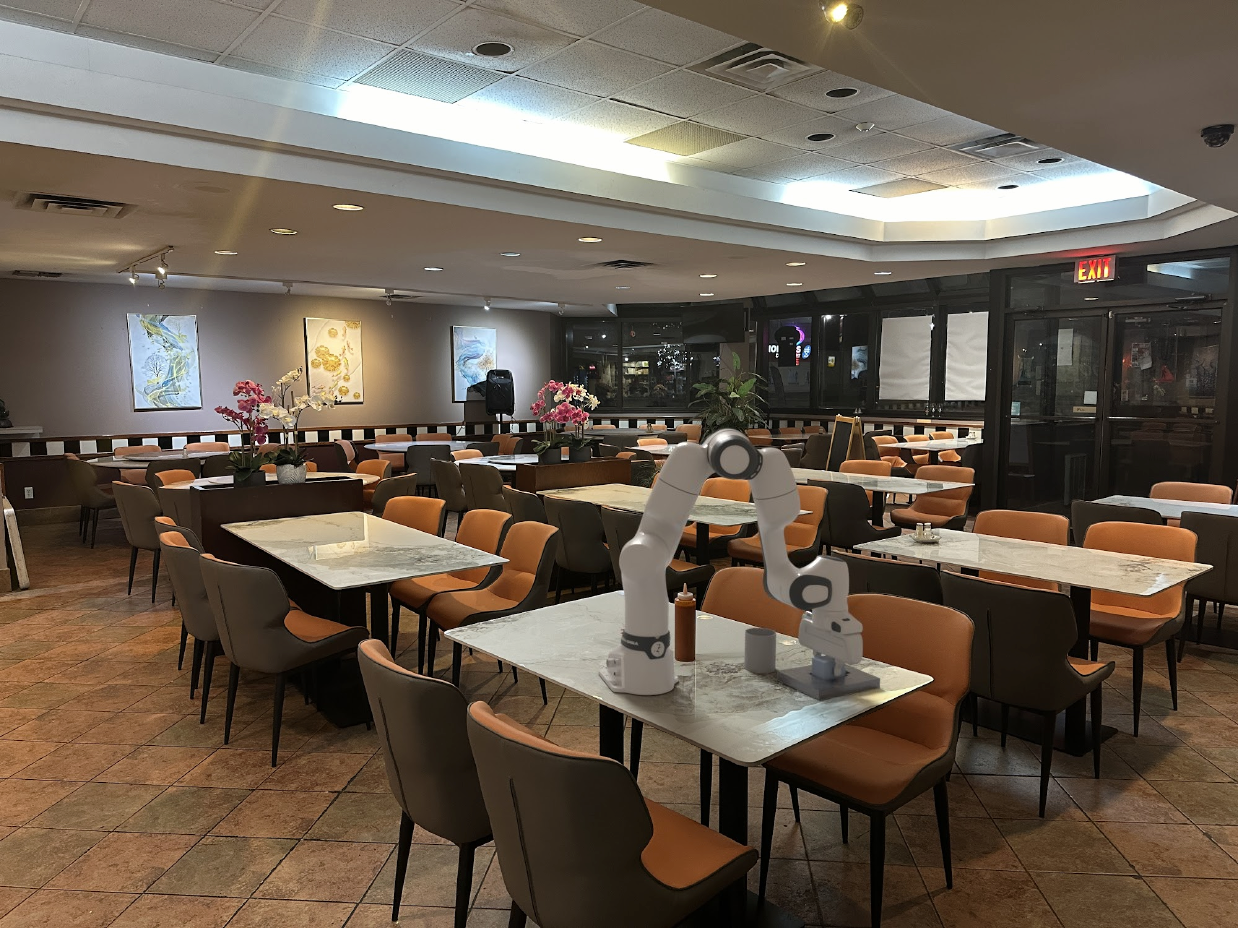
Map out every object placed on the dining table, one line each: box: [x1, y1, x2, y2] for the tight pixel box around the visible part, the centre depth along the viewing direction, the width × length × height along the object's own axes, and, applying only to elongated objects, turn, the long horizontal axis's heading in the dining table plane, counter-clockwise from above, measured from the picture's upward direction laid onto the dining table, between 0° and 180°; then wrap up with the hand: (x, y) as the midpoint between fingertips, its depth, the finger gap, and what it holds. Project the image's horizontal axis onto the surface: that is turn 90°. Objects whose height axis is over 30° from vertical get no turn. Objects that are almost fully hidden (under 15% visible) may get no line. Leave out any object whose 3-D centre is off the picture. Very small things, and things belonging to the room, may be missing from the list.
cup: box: [743, 627, 777, 674], centre depth 220 cm, size 8×8×10 cm
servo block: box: [811, 655, 846, 681], centre depth 208 cm, size 4×8×6 cm, turn 118°
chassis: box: [776, 663, 881, 701], centre depth 208 cm, size 16×20×2 cm
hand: (828, 671), depth 208 cm, fingers closed on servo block, 4 cm apart
